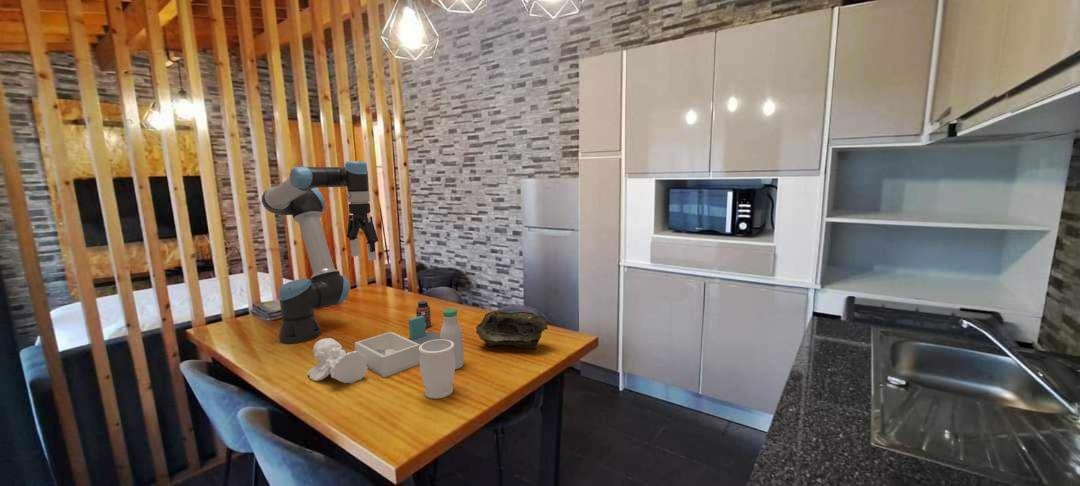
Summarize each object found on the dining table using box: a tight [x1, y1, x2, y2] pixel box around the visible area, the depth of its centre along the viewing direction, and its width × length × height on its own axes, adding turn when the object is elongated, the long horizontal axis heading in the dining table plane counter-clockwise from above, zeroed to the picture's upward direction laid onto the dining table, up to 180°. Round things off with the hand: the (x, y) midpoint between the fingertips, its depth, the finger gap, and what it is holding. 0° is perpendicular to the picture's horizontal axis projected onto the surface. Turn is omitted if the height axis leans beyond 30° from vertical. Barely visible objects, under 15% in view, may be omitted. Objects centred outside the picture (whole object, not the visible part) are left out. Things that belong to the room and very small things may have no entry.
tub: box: [354, 331, 421, 378], centre depth 151 cm, size 20×14×7 cm
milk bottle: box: [439, 308, 465, 370], centre depth 147 cm, size 8×8×20 cm
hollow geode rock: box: [475, 311, 549, 350], centre depth 165 cm, size 28×13×15 cm
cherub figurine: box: [307, 337, 369, 384], centre depth 141 cm, size 13×12×20 cm
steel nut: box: [374, 349, 386, 356], centre depth 153 cm, size 4×4×2 cm
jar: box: [419, 339, 456, 400], centre depth 129 cm, size 11×10×15 cm
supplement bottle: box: [415, 300, 432, 329], centre depth 187 cm, size 6×6×11 cm
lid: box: [407, 316, 440, 345], centre depth 165 cm, size 21×15×10 cm
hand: (363, 258), depth 164 cm, fingers open, 13 cm apart
